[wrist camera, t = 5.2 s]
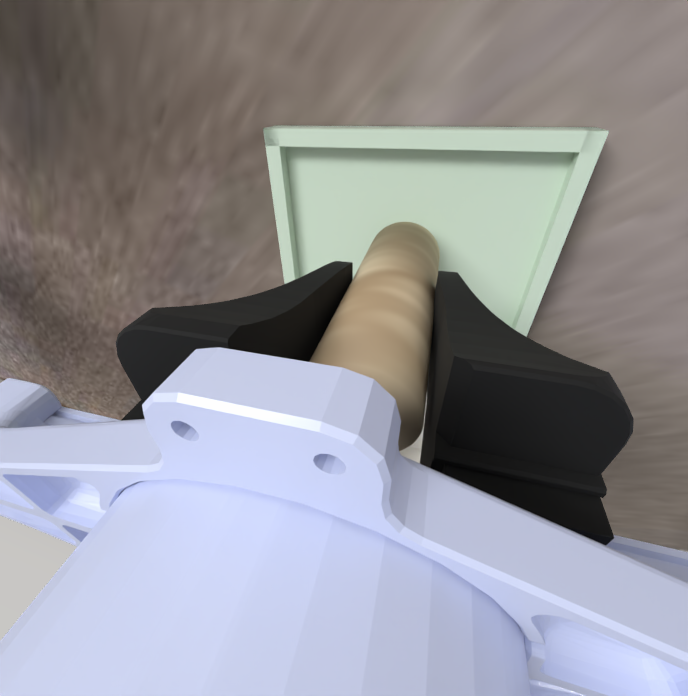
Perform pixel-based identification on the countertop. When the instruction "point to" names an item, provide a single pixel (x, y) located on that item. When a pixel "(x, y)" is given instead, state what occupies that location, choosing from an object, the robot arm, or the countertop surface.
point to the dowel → (389, 321)
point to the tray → (435, 199)
